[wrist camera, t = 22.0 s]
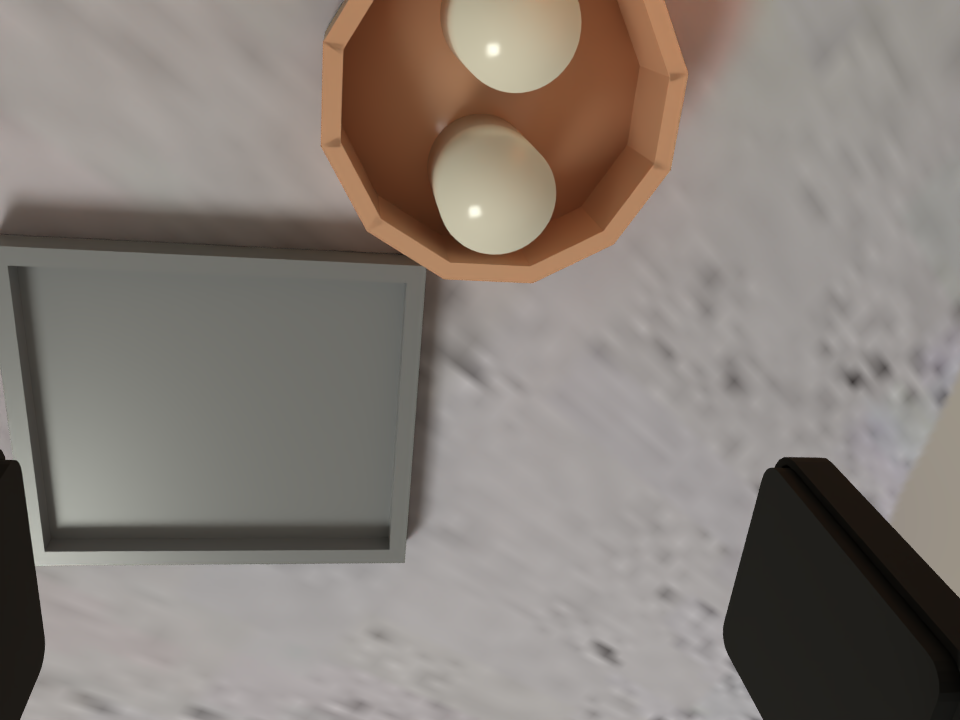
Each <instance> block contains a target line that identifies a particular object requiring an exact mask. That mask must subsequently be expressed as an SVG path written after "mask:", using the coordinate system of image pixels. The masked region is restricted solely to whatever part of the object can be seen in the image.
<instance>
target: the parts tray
mask: <svg viewBox="0 0 960 720" xmlns="http://www.w3.org/2000/svg"><path fill="white" fill-rule="evenodd" d="M425 282H426V268H425V267H424V266H422V265H420V264H419V263H417V262H415V261H414V260H412V259H411V258H409V257H407V256H406V255H404V254H388V253H368V252H347V251H327V250H306V249H286V248H266V247H245V246H225V245H204V244H184V243H164V242H143V241H123V240H102V239H82V238H62V237H41V236H21V235H1V234H0V369H1V376H2V383H3V390H4V397H5V404H6V412H7V419H8V426H9V433H10V440H11V447H12V454H13V460H17V461H18V462H19V464H20V466H21V469H22V475H23V482H24V489H25V497H26V504H27V511H28V519H29V526H30V533H31V541H32V548H33V555H34V563H35V566H80V565H203V564H325V563H405V551H406V538H407V524H408V511H409V497H410V484H411V470H412V457H413V443H414V430H415V416H416V403H417V389H418V376H419V362H420V349H421V336H422V322H423V309H424V295H425Z"/></svg>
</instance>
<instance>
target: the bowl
mask: <svg viewBox="0 0 960 720" xmlns="http://www.w3.org/2000/svg"><path fill="white" fill-rule="evenodd" d="M578 2H579V6H580V11H581V33H580V39H579V43H578V46H577V49H576V51H575V53H574V56H573V58H572V59H571V61H570V63H569V64H568V65H567V67H566V68H565V69H564V71H563V72H562V73H561V74H560V75H559V76H558V77H557V78H555V79H554V80H553V81H552V82H550V83H548V84H547V85H545V86H543V87H541V88H539V89H536V90H533V91H529V92H523V93H509V92H503V91H499V90H496V89H494V88H491V87H489V86H487V85H486V84H484V83H482V82H481V81H480V80H479V79H477V78H476V77H475V76H474V75H473V74H472V73H471V72H470V71H469V70H468V69H467V68H466V67H465V65H464V64H463V63H462V62H461V61H460V60H459V59H458V58H457V57H456V56H455V55H454V54H453V52H452V51H451V50H450V48H449V46H448V44H447V43H446V40H445V38H444V35H443V32H442V28H441V20H440V10H441V3H442V0H344V2H343V3H342V5H341V6H340V8H339V10H338V11H337V13H336V15H335V16H334V18H333V20H332V21H331V23H330V25H329V26H328V28H327V30H326V32H325V36H324V40H323V71H322V117H321V147H322V149H323V151H324V153H325V155H326V156H327V158H328V160H329V162H330V164H331V166H332V168H333V169H334V171H335V173H336V175H337V177H338V179H339V181H340V182H341V184H342V186H343V188H344V190H345V192H346V193H347V195H348V197H349V199H350V201H351V203H352V205H353V206H354V208H355V210H356V212H357V214H358V216H359V218H360V219H361V221H362V223H363V225H364V227H365V229H366V231H367V232H369V233H371V234H372V235H374V236H375V237H377V238H379V239H380V240H382V241H383V242H385V243H387V244H388V245H390V246H391V247H393V248H395V249H396V250H398V251H399V252H401V253H403V254H404V255H406V256H407V257H409V258H411V259H412V260H414V261H415V262H417V263H419V264H420V265H422V266H424V267H425V268H427V269H428V270H430V271H432V272H433V273H435V274H436V275H438V276H440V277H441V278H443V279H450V280H472V281H494V282H517V283H534V282H536V281H538V280H540V279H542V278H544V277H547V276H549V275H551V274H553V273H555V272H557V271H559V270H561V269H563V268H565V267H567V266H569V265H572V264H574V263H576V262H578V261H580V260H582V259H584V258H586V257H588V256H590V255H592V254H595V253H597V252H599V251H601V250H603V249H605V248H607V247H609V246H611V245H613V244H614V243H615V242H616V241H617V239H618V238H619V237H620V235H621V234H622V233H623V232H624V230H625V229H626V228H627V226H628V225H629V224H630V222H631V221H632V220H633V218H634V217H635V216H636V215H637V213H638V212H639V211H640V209H641V208H642V207H643V205H644V204H645V203H646V201H647V200H648V199H649V198H650V196H651V195H652V194H653V192H654V191H655V190H656V188H657V187H658V186H659V184H660V183H661V182H662V180H663V179H664V178H665V177H666V175H667V174H668V173H669V171H670V170H671V165H672V160H673V154H674V149H675V144H676V138H677V133H678V127H679V122H680V116H681V111H682V106H683V100H684V95H685V89H686V84H687V78H688V71H687V68H686V65H685V62H684V59H683V56H682V53H681V50H680V47H679V44H678V41H677V38H676V35H675V32H674V29H673V25H672V22H671V19H670V16H669V13H668V10H667V7H666V4H665V1H664V0H578ZM472 114H489V115H494V116H497V117H500V118H502V119H504V120H506V121H508V122H509V123H511V124H512V125H513V126H514V127H515V128H516V129H517V130H518V131H519V132H520V133H521V134H522V135H523V136H524V137H525V138H526V139H527V140H528V141H529V142H530V143H531V145H532V146H533V147H534V148H535V149H536V150H537V151H538V152H539V153H540V154H541V155H542V156H543V157H544V159H545V160H546V161H547V163H548V165H549V166H550V168H551V170H552V173H553V176H554V180H555V184H556V202H555V207H554V211H553V214H552V216H551V218H550V221H549V223H548V224H547V226H546V227H545V229H544V230H543V231H542V233H541V234H540V235H539V236H538V237H537V238H536V239H535V240H533V241H532V242H531V243H529V244H528V245H526V246H525V247H523V248H521V249H519V250H516V251H513V252H510V253H505V254H494V255H492V254H484V253H479V252H476V251H474V250H471V249H469V248H467V247H465V246H464V245H462V244H461V243H459V242H458V241H457V240H456V239H455V238H454V237H453V236H452V235H451V234H450V232H449V231H448V230H447V228H446V226H445V225H444V222H443V220H442V218H441V215H440V212H439V209H438V206H437V203H436V201H435V198H434V195H433V192H432V189H431V186H430V183H429V179H428V173H427V163H428V156H429V152H430V149H431V147H432V144H433V143H434V141H435V139H436V138H437V136H438V135H439V134H440V132H441V131H442V130H443V129H444V128H445V127H447V126H448V125H449V124H450V123H452V122H454V121H455V120H457V119H459V118H461V117H464V116H468V115H472Z"/></svg>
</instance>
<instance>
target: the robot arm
mask: <svg viewBox="0 0 960 720" xmlns="http://www.w3.org/2000/svg"><path fill="white" fill-rule="evenodd" d="M723 638H724V644H725V648H726V651H727V653H728V655H729V657H730V659H731V661H732V663H733V665H734V666H735V668H736V670H737V672H738V674H739V676H740V677H741V679H742V681H743V683H744V685H745V687H746V689H747V690H748V692H749V694H750V696H751V698H752V700H753V702H754V703H755V705H756V707H757V709H758V711H759V713H760V714H761V716H762V718H763V720H960V598H959V597H958V596H957V595H956V594H955V593H954V592H953V591H952V590H951V589H950V588H949V586H948V585H946V583H945V582H944V581H943V580H942V579H941V578H940V577H939V576H938V575H937V574H936V573H935V572H934V571H933V570H932V568H931V567H929V565H928V564H927V563H926V562H925V561H924V560H923V559H922V558H921V557H920V556H919V555H918V554H917V553H916V551H915V550H914V549H913V548H912V547H911V546H910V545H909V544H908V543H907V542H906V541H905V540H904V539H903V538H902V537H901V536H900V534H898V532H897V531H896V530H895V529H894V528H893V527H892V526H891V525H890V524H889V523H888V522H887V521H886V520H885V519H884V518H883V516H882V515H881V514H880V513H879V512H878V511H877V510H876V509H875V508H874V507H873V506H872V505H871V504H870V503H869V502H868V501H867V500H866V498H865V497H864V496H863V495H862V494H861V493H860V492H859V491H858V490H857V489H856V488H855V487H854V486H853V485H852V484H851V483H850V481H849V480H848V479H847V478H846V477H845V476H844V475H843V474H842V473H841V472H840V471H839V470H838V469H837V468H836V467H835V466H834V465H833V463H832V462H830V461H829V460H828V459H826V458H805V457H784V458H782V459H780V460H779V461H778V462H777V464H776V465H775V468H769V469H767V470H766V472H765V473H764V475H763V478H762V481H761V485H760V489H759V493H758V496H757V500H756V504H755V508H754V512H753V515H752V519H751V523H750V527H749V530H748V534H747V538H746V542H745V546H744V549H743V553H742V557H741V561H740V564H739V568H738V572H737V576H736V580H735V583H734V587H733V591H732V595H731V598H730V602H729V606H728V610H727V614H726V617H725V621H724V626H723ZM44 651H45V636H44V629H43V622H42V614H41V607H40V600H39V592H38V585H37V578H36V570H35V563H34V555H33V548H32V541H31V533H30V526H29V519H28V511H27V504H26V497H25V489H24V482H23V475H22V469H21V466H20V464H19V462H18V461H17V460H5V456H4V454H3V452H2V450H0V720H20V718H21V716H22V713H23V711H24V709H25V706H26V704H27V702H28V699H29V697H30V694H31V692H32V690H33V687H34V685H35V683H36V680H37V678H38V675H39V673H40V670H41V667H42V663H43V659H44Z"/></svg>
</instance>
